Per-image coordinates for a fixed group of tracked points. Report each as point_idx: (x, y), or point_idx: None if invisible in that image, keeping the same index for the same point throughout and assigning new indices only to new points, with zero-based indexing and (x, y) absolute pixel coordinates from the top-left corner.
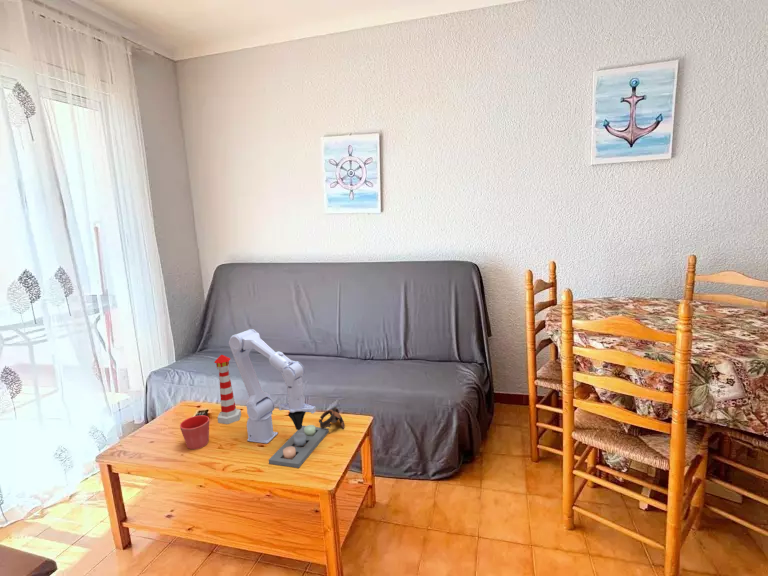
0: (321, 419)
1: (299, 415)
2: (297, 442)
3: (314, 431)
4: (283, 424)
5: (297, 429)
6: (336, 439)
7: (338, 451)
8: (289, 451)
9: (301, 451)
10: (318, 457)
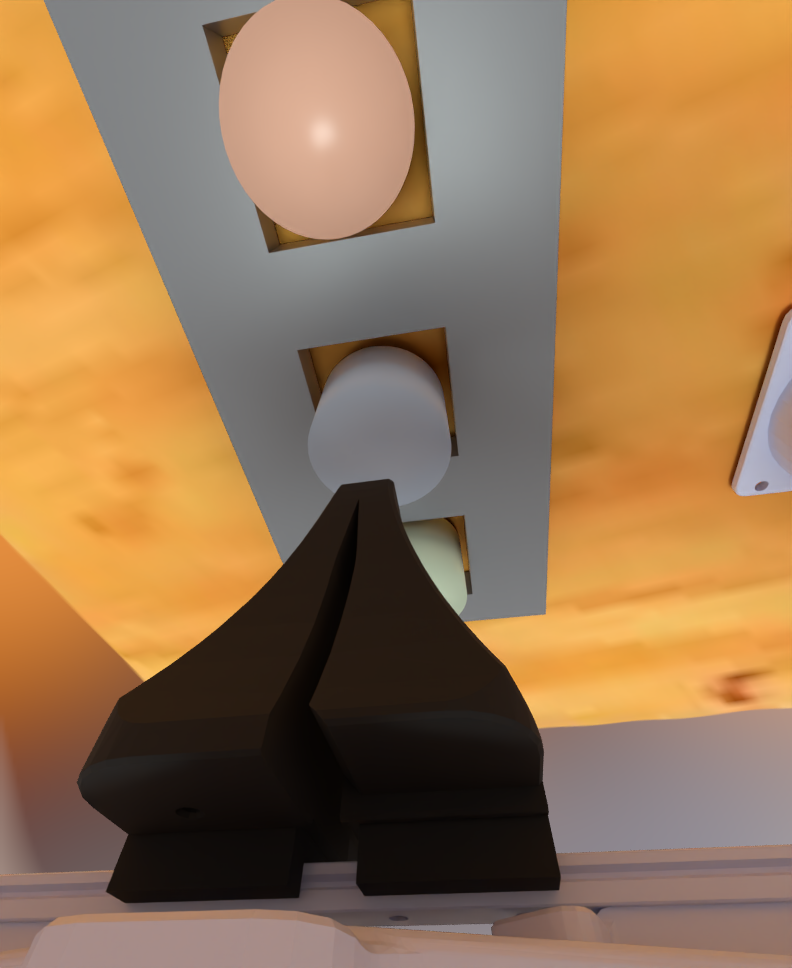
0: None
1: (95, 750)
2: (364, 365)
3: None
4: (732, 594)
5: (365, 483)
6: (191, 561)
7: (25, 444)
8: (274, 80)
9: (251, 272)
10: (80, 297)
